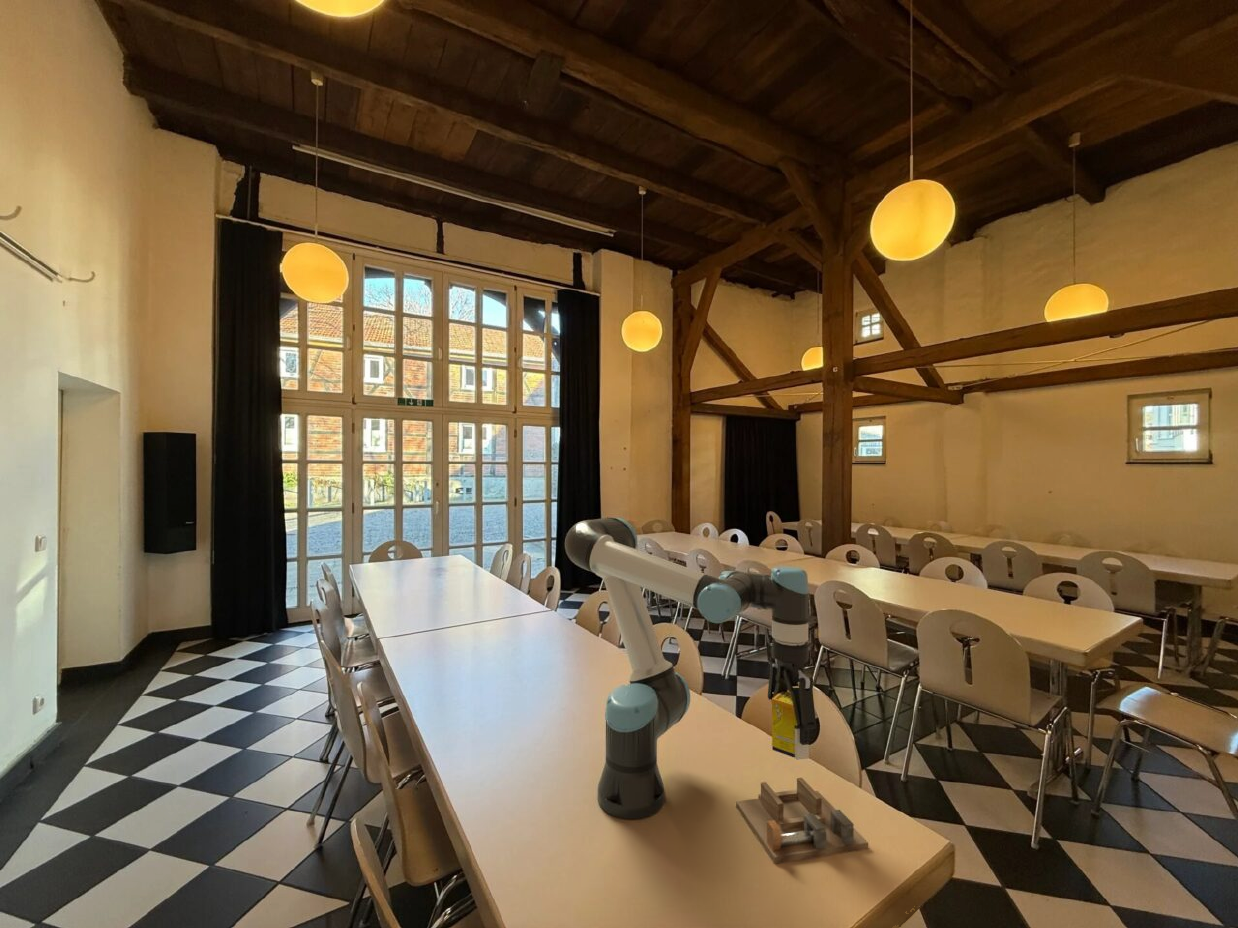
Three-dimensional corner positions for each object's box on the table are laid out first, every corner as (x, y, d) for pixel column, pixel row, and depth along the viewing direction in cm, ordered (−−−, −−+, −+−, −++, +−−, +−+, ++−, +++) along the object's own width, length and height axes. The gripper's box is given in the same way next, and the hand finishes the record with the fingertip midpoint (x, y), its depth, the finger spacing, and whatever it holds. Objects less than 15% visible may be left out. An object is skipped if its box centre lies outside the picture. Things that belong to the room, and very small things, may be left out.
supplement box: (782, 739, 114) (781, 689, 115) (809, 748, 110) (808, 696, 111) (771, 749, 110) (771, 698, 110) (799, 759, 106) (798, 706, 106)
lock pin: (773, 850, 98) (773, 829, 98) (766, 841, 100) (766, 821, 100) (827, 842, 100) (827, 821, 100) (820, 833, 102) (820, 813, 103)
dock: (774, 863, 96) (774, 832, 97) (735, 806, 113) (736, 780, 113) (868, 848, 100) (868, 819, 101) (817, 795, 117) (817, 770, 117)
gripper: (835, 655, 101) (836, 772, 101) (781, 625, 122) (781, 722, 121) (800, 657, 100) (801, 776, 99) (751, 627, 120) (751, 725, 120)
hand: (790, 746), depth 110 cm, fingers closed on supplement box, 8 cm apart
